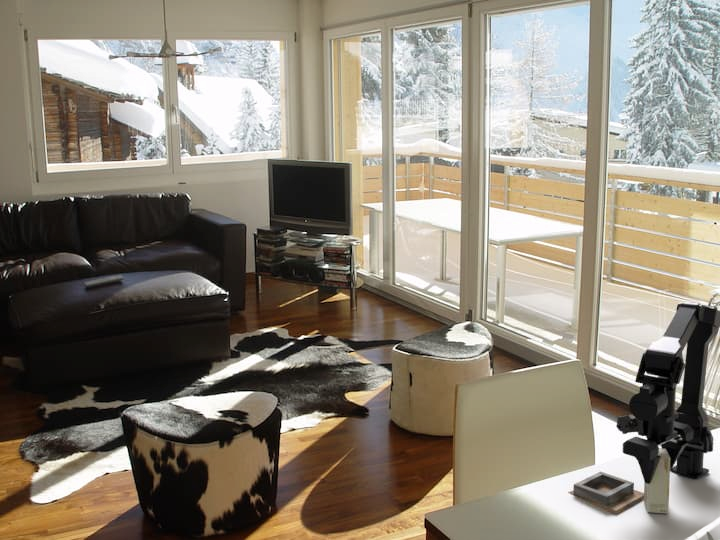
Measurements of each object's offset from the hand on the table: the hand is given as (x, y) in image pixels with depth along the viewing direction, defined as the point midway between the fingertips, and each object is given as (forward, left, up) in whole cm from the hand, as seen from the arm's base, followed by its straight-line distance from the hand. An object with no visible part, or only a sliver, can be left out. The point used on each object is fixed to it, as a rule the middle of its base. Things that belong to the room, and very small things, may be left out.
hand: (656, 478), depth 173 cm
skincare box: (0, 0, -7) cm, 7 cm away
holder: (+3, -10, -7) cm, 12 cm away
